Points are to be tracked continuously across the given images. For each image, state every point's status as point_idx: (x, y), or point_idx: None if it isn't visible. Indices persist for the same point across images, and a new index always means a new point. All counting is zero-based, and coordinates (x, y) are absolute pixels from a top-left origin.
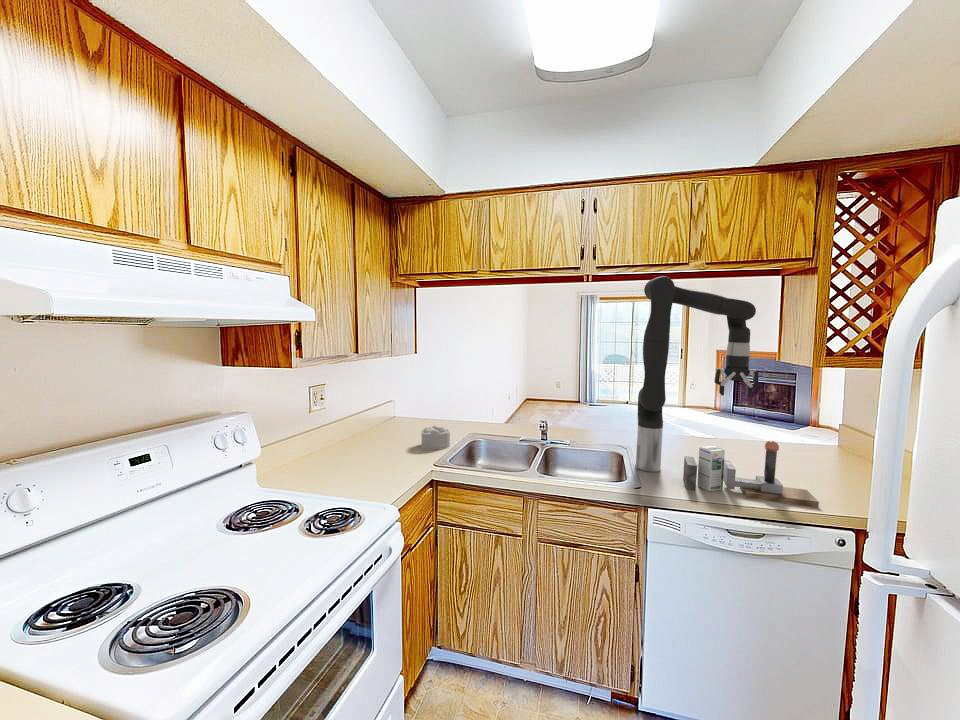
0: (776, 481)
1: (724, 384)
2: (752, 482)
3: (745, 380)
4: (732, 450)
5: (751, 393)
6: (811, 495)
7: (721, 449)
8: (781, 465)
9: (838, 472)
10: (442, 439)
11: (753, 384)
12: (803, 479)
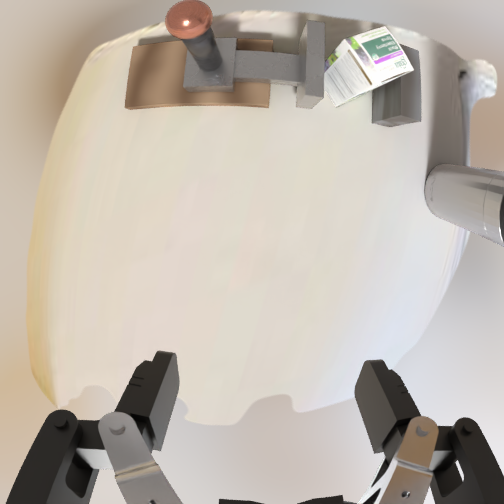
0: (193, 61)
1: (407, 433)
2: (252, 55)
3: (163, 495)
4: (212, 383)
5: (133, 375)
6: (130, 75)
7: (354, 42)
8: (127, 308)
9: (49, 291)
10: None
11: (88, 441)
12: (103, 222)
